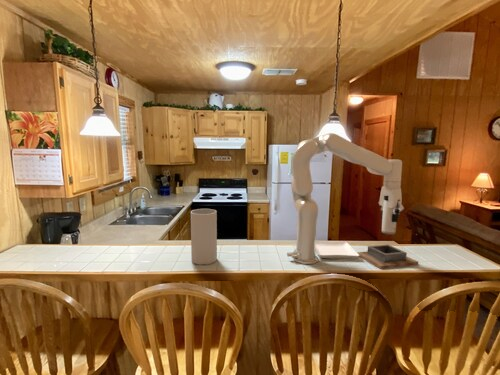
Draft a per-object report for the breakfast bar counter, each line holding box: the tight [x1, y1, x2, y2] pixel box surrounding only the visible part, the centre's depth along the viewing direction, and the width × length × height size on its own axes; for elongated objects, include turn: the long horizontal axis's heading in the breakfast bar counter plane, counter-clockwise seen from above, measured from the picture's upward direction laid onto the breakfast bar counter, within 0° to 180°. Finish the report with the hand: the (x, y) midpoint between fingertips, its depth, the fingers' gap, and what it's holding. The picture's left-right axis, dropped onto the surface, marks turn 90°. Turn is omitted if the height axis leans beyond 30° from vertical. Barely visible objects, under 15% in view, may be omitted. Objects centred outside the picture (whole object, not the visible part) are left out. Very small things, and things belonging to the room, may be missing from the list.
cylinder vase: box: [190, 208, 218, 265], centre depth 135 cm, size 12×12×25 cm
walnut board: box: [356, 250, 419, 270], centre depth 139 cm, size 22×18×2 cm
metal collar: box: [367, 244, 407, 263], centre depth 139 cm, size 12×12×4 cm
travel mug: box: [381, 196, 397, 235], centre depth 136 cm, size 6×7×20 cm
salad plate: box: [315, 240, 360, 260], centre depth 148 cm, size 21×21×3 cm
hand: (389, 219), depth 137 cm, fingers closed on travel mug, 6 cm apart
